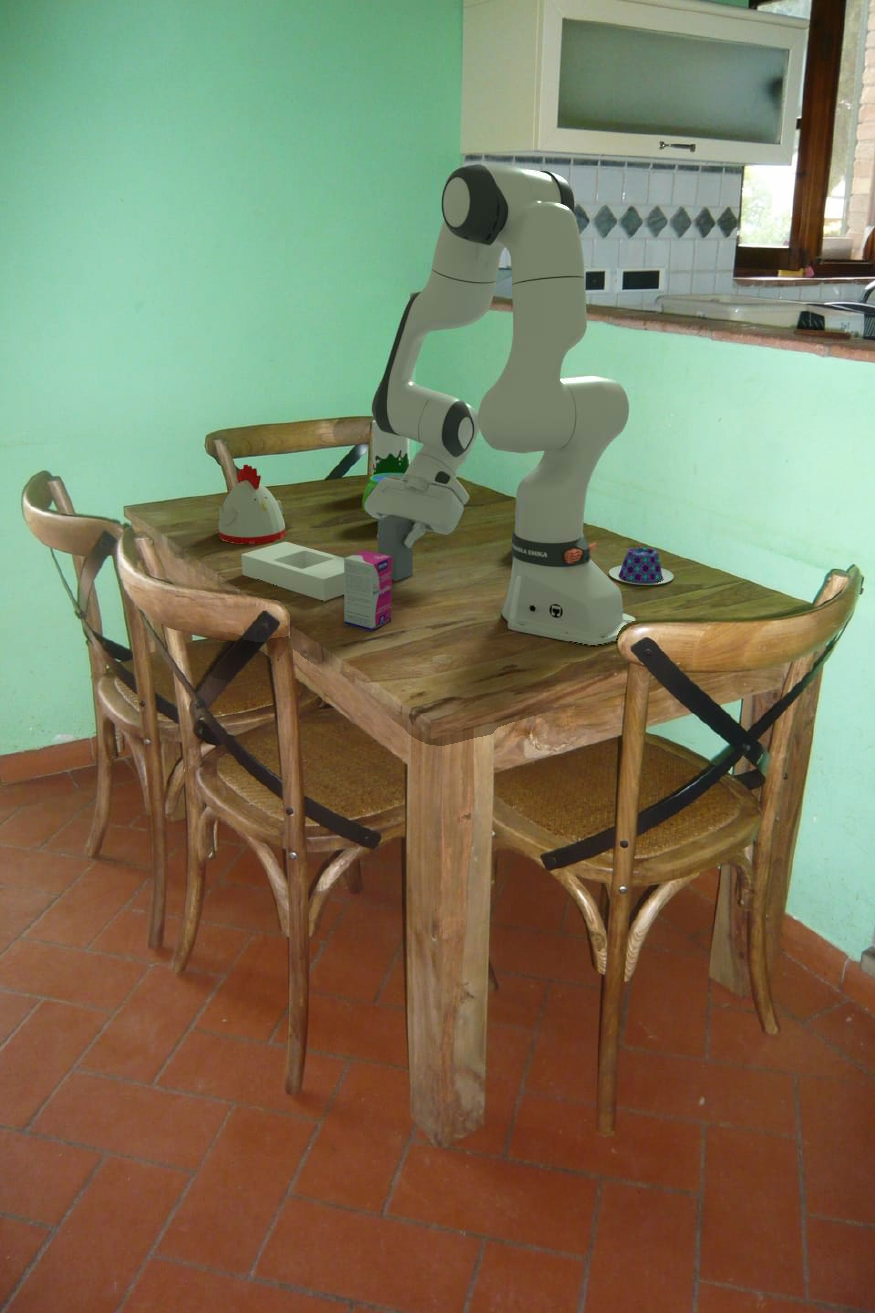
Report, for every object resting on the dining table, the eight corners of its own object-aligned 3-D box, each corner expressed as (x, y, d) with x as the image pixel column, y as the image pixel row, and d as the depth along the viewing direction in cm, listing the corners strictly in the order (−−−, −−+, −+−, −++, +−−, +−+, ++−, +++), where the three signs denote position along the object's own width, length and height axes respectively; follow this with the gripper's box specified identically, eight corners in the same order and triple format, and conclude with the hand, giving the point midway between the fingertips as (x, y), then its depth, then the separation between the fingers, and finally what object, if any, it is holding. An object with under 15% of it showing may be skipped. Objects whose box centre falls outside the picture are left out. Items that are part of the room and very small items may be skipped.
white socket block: (368, 585, 181) (367, 564, 179) (324, 601, 173) (323, 579, 172) (286, 561, 194) (285, 541, 192) (242, 574, 186) (241, 554, 185)
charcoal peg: (412, 575, 187) (412, 518, 182) (396, 581, 183) (395, 523, 179) (394, 570, 189) (394, 514, 185) (378, 576, 186) (377, 519, 182)
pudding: (662, 592, 180) (665, 564, 177) (599, 582, 185) (601, 554, 183) (680, 574, 189) (683, 547, 187) (620, 564, 194) (622, 538, 192)
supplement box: (373, 632, 160) (371, 564, 156) (343, 624, 163) (341, 558, 158) (393, 621, 165) (392, 555, 160) (364, 614, 168) (362, 549, 163)
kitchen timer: (240, 549, 201) (235, 475, 196) (207, 534, 211) (200, 464, 205) (298, 536, 210) (294, 466, 204) (263, 523, 219) (258, 455, 214)
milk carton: (412, 489, 249) (412, 408, 241) (405, 497, 241) (404, 414, 233) (378, 487, 250) (376, 406, 242) (370, 496, 242) (368, 412, 234)
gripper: (378, 463, 190) (344, 523, 187) (462, 479, 178) (426, 543, 175) (394, 482, 195) (361, 541, 192) (476, 499, 183) (442, 562, 180)
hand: (392, 542), depth 183 cm, fingers closed on charcoal peg, 4 cm apart
